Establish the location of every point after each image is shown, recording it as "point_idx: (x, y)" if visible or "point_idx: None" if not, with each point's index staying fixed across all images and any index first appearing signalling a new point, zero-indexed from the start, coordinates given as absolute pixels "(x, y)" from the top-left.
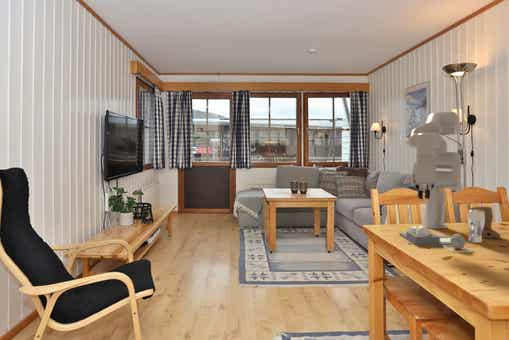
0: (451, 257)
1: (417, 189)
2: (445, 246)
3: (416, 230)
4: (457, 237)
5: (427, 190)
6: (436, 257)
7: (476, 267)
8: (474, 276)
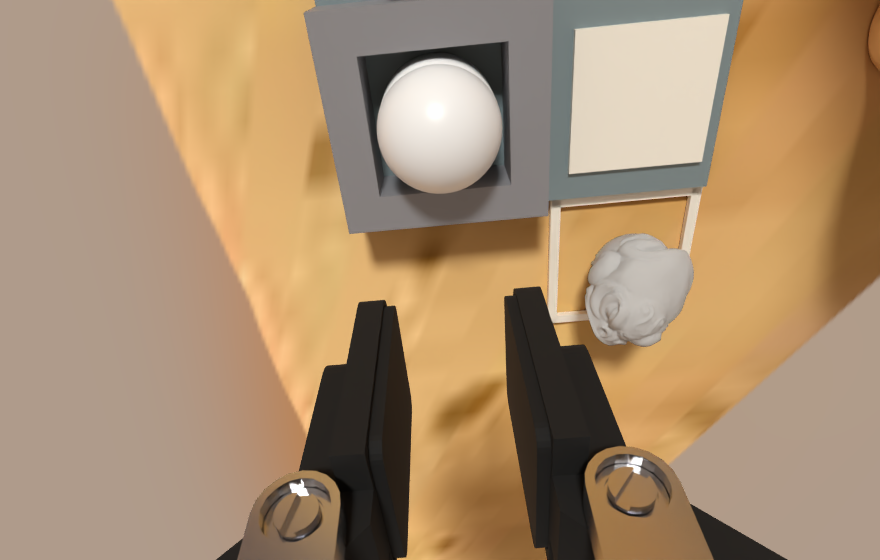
0: (491, 401)
1: (273, 505)
2: (557, 231)
3: (378, 138)
4: (618, 341)
5: (549, 534)
6: (414, 408)
7: None
8: (470, 557)
